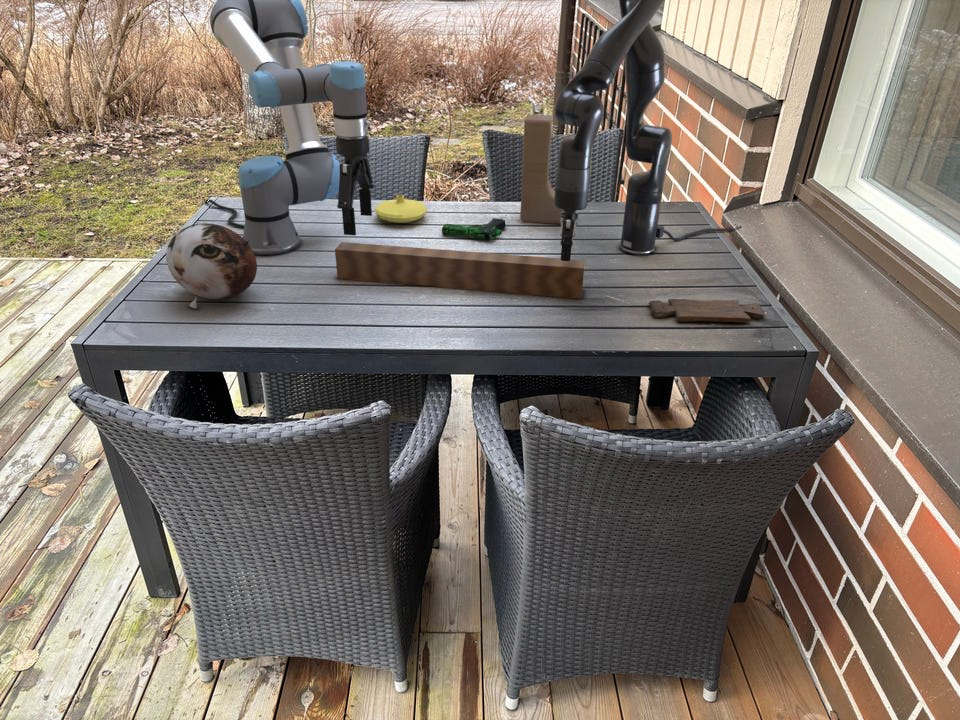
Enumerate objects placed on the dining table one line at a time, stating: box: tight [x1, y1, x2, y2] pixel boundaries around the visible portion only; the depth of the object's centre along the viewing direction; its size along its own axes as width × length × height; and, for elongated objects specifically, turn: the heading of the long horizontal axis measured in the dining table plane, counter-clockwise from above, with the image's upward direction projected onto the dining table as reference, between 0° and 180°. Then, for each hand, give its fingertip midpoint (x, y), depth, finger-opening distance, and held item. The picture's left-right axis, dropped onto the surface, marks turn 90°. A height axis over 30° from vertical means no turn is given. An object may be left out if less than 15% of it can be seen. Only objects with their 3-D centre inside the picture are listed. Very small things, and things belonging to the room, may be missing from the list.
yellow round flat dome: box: [374, 194, 428, 224], centre depth 214 cm, size 16×16×7 cm
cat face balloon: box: [165, 222, 258, 309], centre depth 165 cm, size 22×18×20 cm
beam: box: [334, 241, 586, 299], centre depth 175 cm, size 61×5×8 cm, turn 81°
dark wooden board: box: [648, 298, 765, 323], centre depth 164 cm, size 26×2×10 cm
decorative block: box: [519, 114, 565, 225], centre depth 210 cm, size 8×15×30 cm, turn 82°
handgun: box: [441, 217, 506, 242], centre depth 207 cm, size 16×3×15 cm
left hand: (358, 224), depth 174 cm, fingers open, 13 cm apart
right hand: (566, 253), depth 168 cm, fingers open, 8 cm apart
